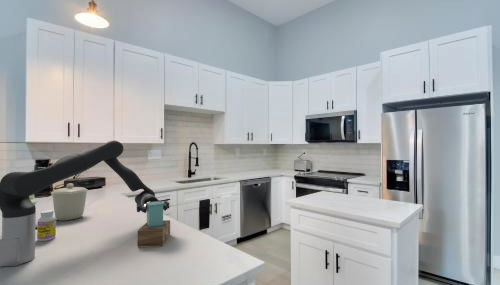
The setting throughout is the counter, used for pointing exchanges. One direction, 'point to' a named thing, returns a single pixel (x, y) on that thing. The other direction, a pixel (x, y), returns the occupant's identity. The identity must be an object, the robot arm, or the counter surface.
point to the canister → (69, 202)
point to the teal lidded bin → (154, 214)
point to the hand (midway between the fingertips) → (155, 209)
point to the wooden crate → (153, 235)
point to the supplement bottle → (46, 226)
